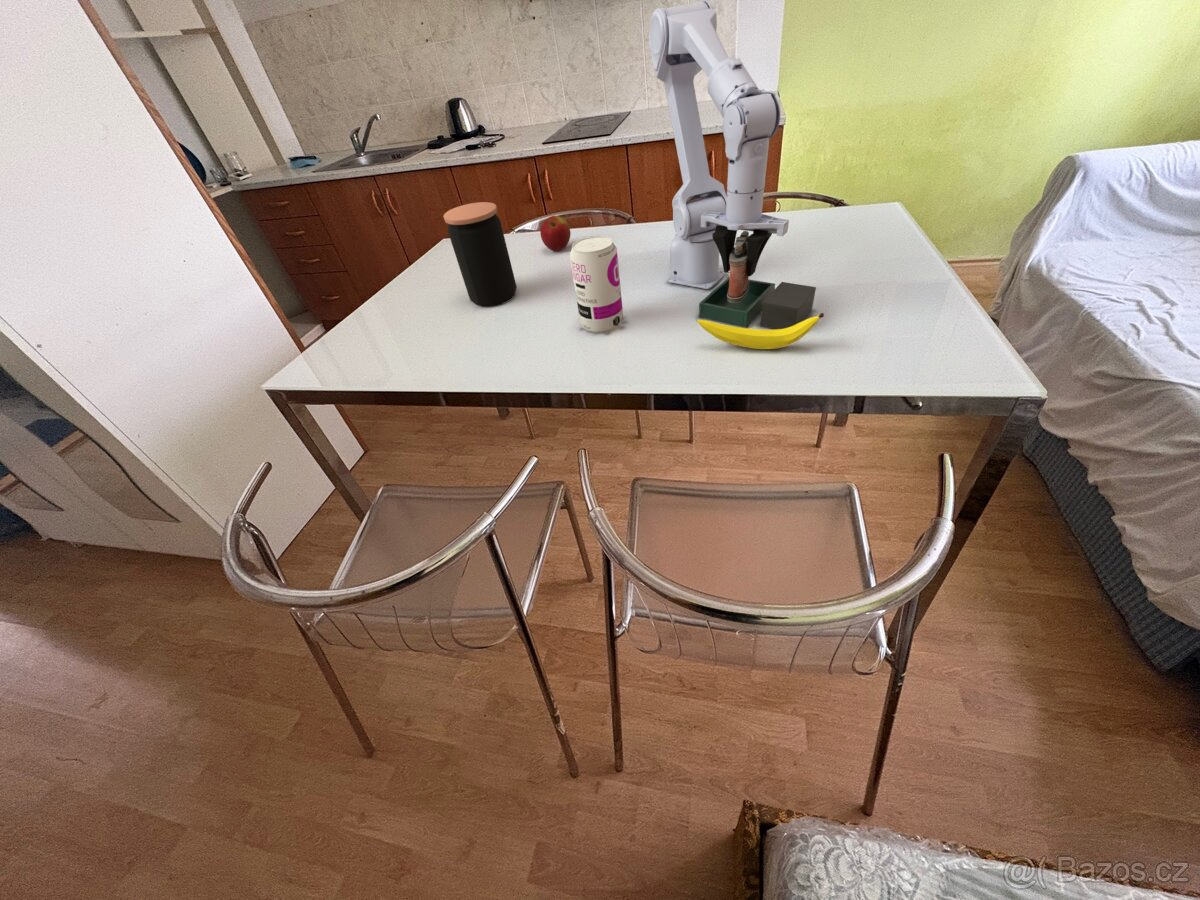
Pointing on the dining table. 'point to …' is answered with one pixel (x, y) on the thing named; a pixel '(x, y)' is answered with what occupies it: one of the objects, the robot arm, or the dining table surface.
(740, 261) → the lighter
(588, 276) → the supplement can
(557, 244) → the apple
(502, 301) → the coffee jar
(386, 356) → the dining table surface
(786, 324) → the stand
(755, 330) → the banana
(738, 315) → the tray
